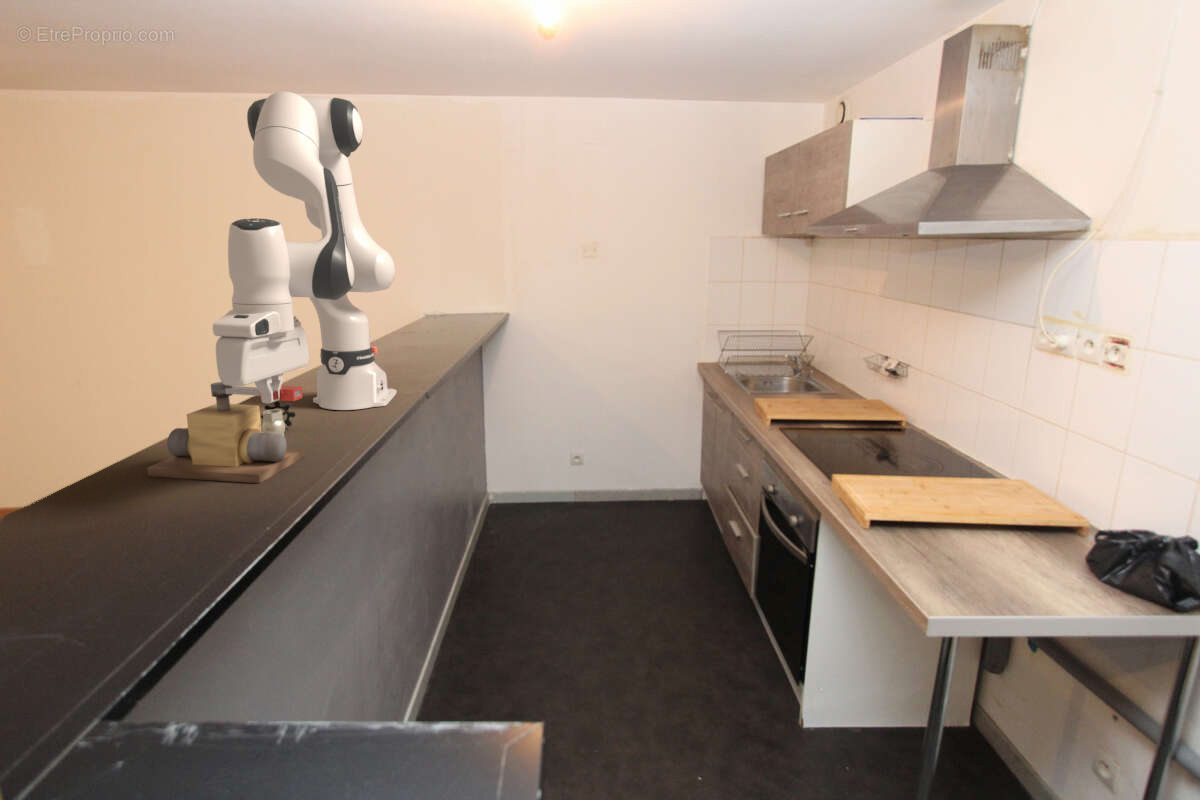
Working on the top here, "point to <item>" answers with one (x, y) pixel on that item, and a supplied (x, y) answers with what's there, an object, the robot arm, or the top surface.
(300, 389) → the valve lever
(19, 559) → the top surface
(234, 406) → the valve manifold
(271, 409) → the valve
